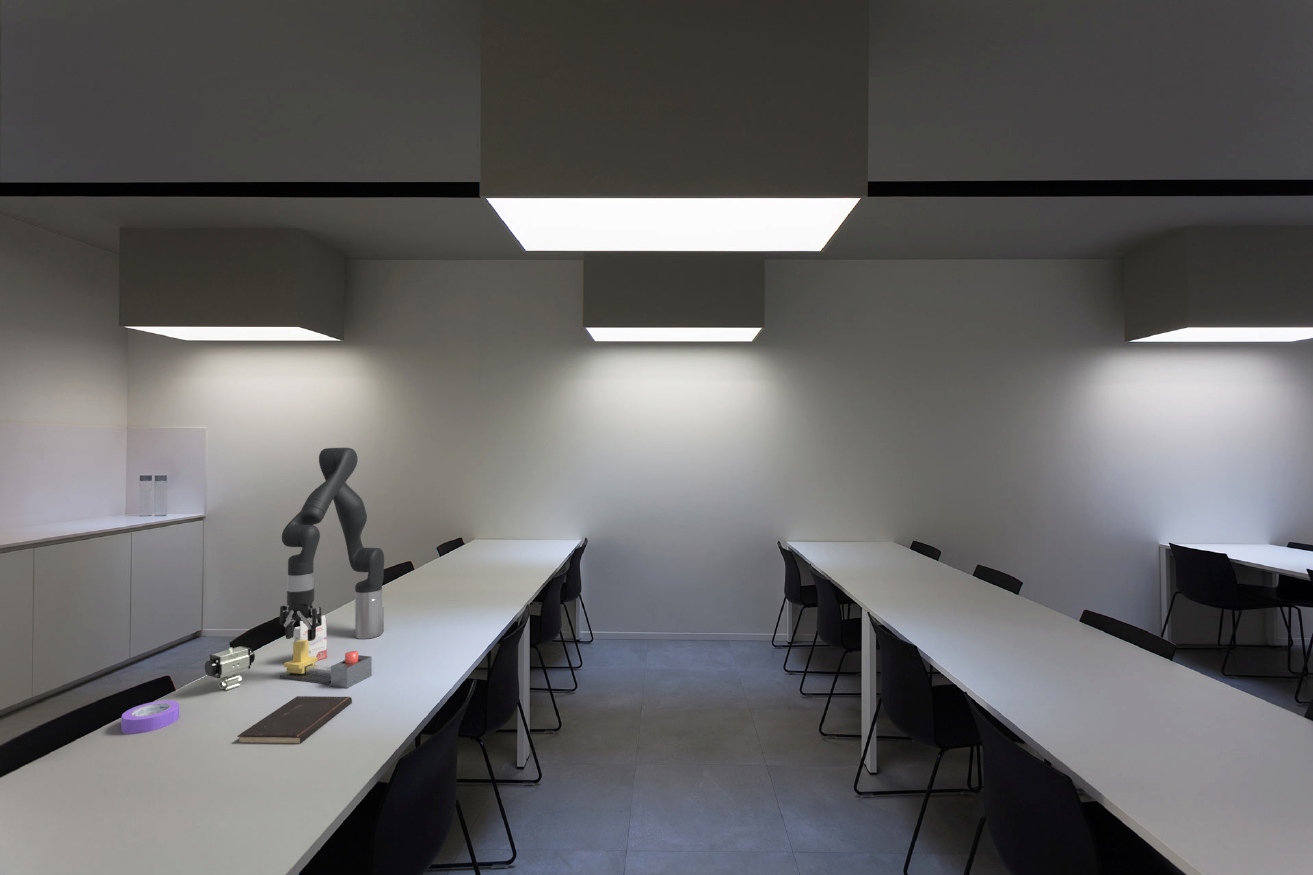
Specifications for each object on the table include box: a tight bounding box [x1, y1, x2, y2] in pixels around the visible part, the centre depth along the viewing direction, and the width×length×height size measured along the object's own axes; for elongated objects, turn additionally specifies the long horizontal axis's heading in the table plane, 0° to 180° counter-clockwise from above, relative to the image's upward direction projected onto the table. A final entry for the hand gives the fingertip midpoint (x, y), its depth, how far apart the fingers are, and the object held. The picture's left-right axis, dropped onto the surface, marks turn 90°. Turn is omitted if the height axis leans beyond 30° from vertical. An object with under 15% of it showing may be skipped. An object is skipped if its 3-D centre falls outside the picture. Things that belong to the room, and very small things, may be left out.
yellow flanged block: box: [283, 639, 319, 674], centre depth 192 cm, size 7×6×9 cm
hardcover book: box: [236, 695, 353, 745], centre depth 160 cm, size 16×23×2 cm
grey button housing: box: [330, 654, 373, 689], centre depth 187 cm, size 10×6×6 cm, turn 164°
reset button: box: [344, 650, 359, 664], centre depth 187 cm, size 4×4×5 cm
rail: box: [279, 664, 331, 685], centre depth 191 cm, size 8×19×3 cm, turn 74°
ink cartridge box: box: [293, 614, 328, 661], centre depth 205 cm, size 9×5×15 cm, turn 143°
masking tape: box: [121, 699, 180, 735], centre depth 159 cm, size 12×12×4 cm
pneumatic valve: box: [204, 645, 256, 691], centre depth 182 cm, size 6×12×12 cm, turn 152°
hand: (300, 639), depth 192 cm, fingers open, 8 cm apart
